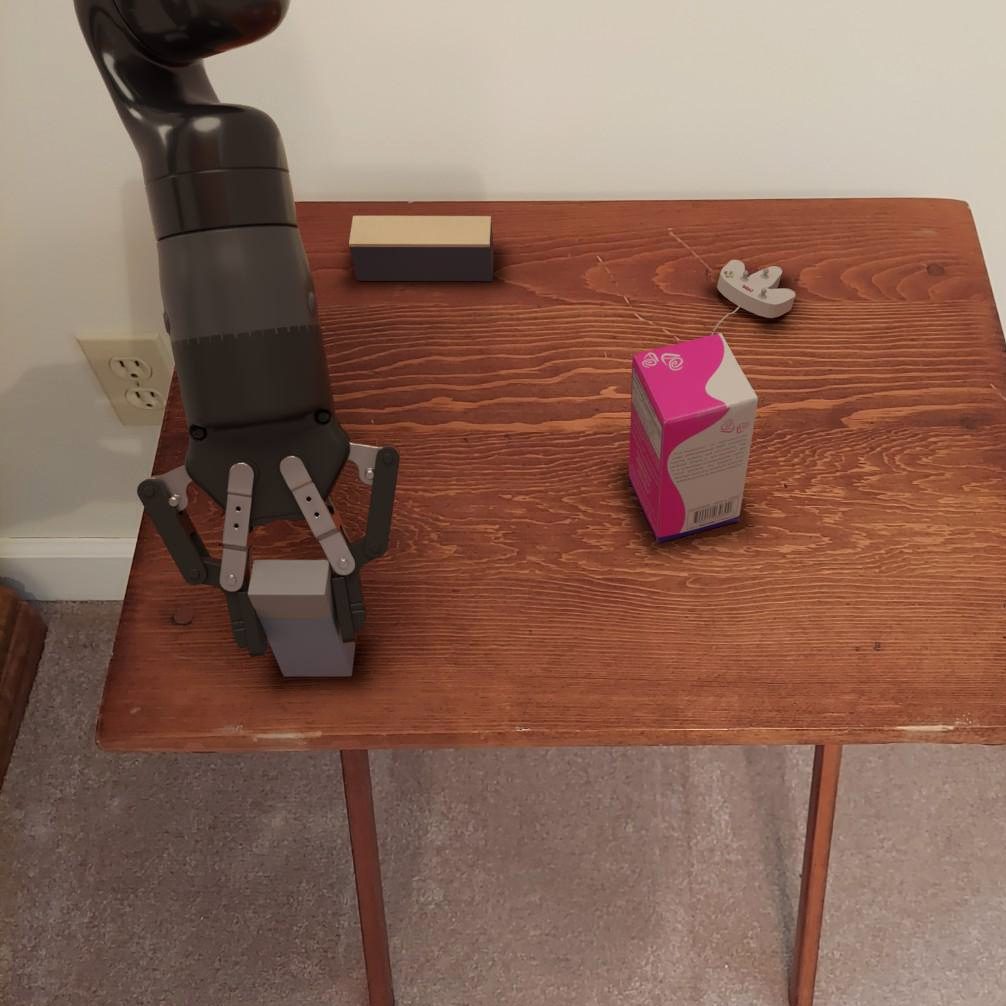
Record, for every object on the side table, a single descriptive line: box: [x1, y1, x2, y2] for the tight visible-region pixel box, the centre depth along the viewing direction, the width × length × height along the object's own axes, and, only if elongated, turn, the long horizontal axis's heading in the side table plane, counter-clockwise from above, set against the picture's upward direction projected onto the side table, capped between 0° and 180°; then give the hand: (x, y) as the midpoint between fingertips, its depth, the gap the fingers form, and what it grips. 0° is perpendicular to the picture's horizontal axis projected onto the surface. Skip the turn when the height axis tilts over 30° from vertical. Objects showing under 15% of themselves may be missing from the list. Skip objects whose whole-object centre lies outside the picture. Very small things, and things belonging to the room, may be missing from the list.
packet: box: [248, 559, 356, 677], centre depth 66 cm, size 4×2×9 cm, turn 91°
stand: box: [348, 215, 495, 282], centre depth 86 cm, size 10×3×4 cm, turn 91°
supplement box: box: [628, 332, 759, 543], centre depth 71 cm, size 6×6×12 cm
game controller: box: [710, 259, 796, 335], centre depth 83 cm, size 6×12×3 cm, turn 158°
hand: (304, 644), depth 64 cm, fingers closed on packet, 4 cm apart
